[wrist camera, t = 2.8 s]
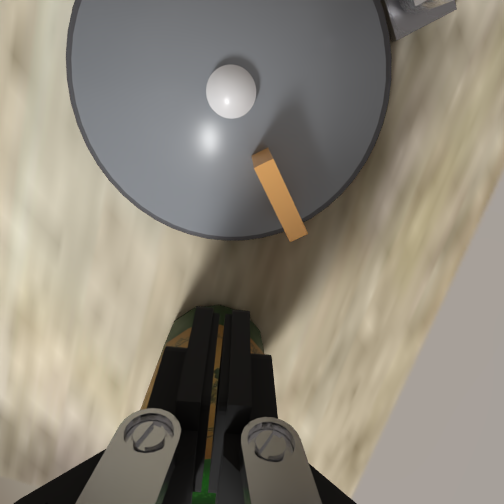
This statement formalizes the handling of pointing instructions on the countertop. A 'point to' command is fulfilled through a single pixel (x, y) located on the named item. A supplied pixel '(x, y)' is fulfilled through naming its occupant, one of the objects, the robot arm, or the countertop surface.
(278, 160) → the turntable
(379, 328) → the countertop surface
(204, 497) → the bottle
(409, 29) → the capsule on square base
